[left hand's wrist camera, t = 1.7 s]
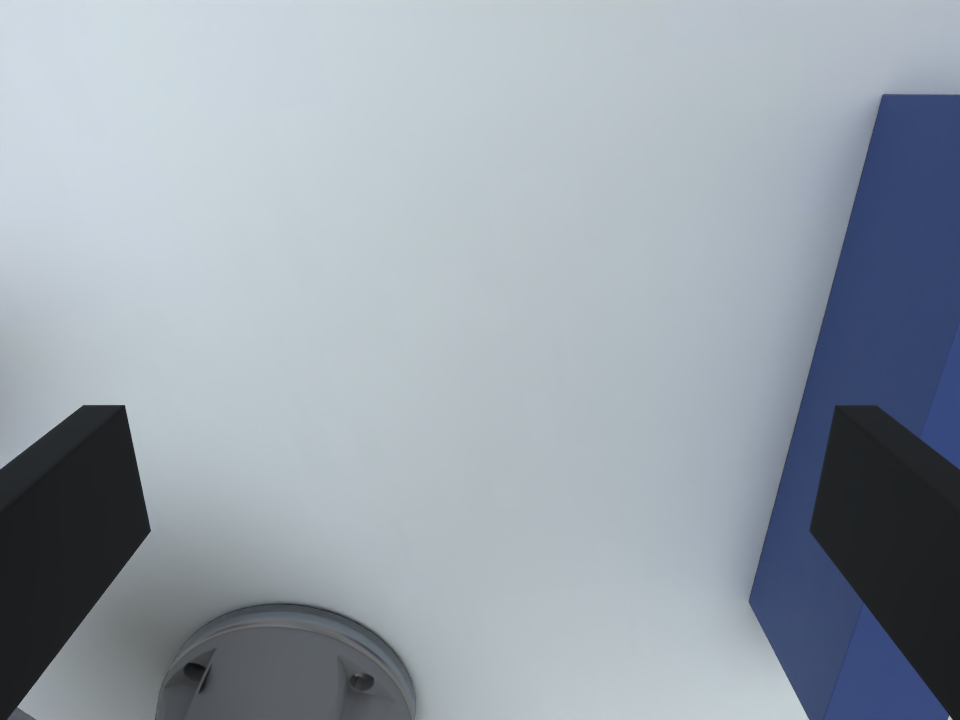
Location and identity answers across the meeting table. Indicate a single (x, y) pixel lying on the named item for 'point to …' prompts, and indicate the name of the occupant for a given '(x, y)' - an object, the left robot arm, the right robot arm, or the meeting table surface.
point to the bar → (871, 381)
